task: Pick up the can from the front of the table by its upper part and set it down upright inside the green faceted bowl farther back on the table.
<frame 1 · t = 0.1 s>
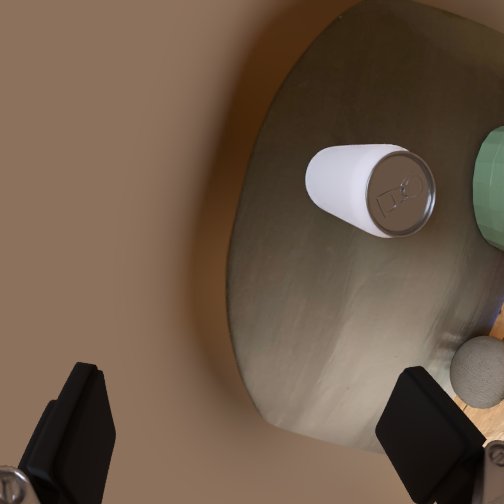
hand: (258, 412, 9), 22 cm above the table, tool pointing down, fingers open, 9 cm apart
fruit: (463, 353, 40), on the table
can: (334, 179, 30), on the table
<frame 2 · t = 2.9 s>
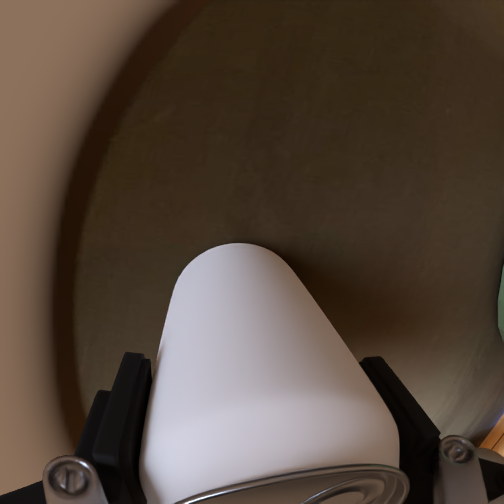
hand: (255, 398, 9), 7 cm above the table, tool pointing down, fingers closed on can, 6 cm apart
can: (236, 300, 16), on the table, touching gripper
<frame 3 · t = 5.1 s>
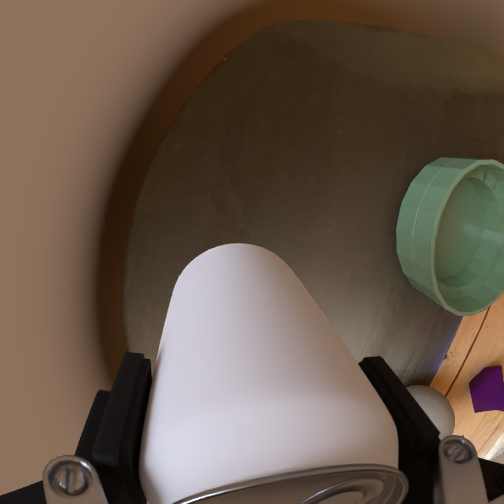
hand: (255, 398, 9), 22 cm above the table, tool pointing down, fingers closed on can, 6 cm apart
fruit: (399, 398, 40), on the table
green faceted bowl: (448, 227, 33), on the table
can: (236, 301, 16), point 15 cm above the table, touching gripper
perfume bottle: (477, 380, 43), on the table
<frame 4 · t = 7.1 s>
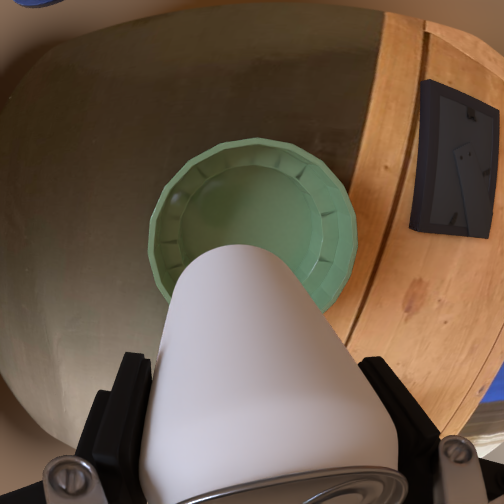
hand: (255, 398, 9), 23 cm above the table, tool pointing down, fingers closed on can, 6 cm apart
green faceted bowl: (247, 229, 32), on the table
can: (236, 302, 16), point 16 cm above the table, touching gripper
picture frame: (455, 162, 33), on the table
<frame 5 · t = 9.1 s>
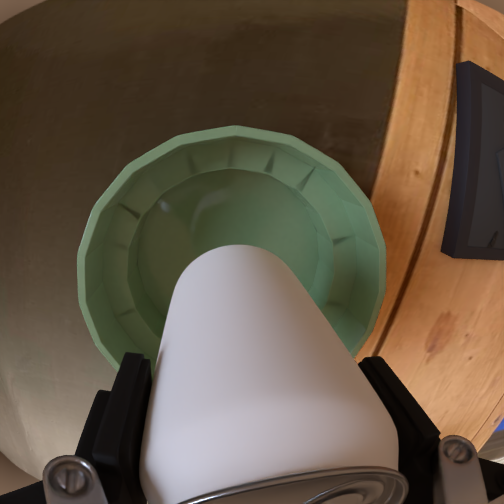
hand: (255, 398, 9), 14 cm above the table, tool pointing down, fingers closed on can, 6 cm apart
green faceted bowl: (228, 258, 23), on the table
can: (236, 302, 16), point 7 cm above the table, touching gripper
picture frame: (495, 168, 24), on the table
when the fingers open (8 cm above the table, at t = 11.2 s): can stays where it is, resting on green faceted bowl.
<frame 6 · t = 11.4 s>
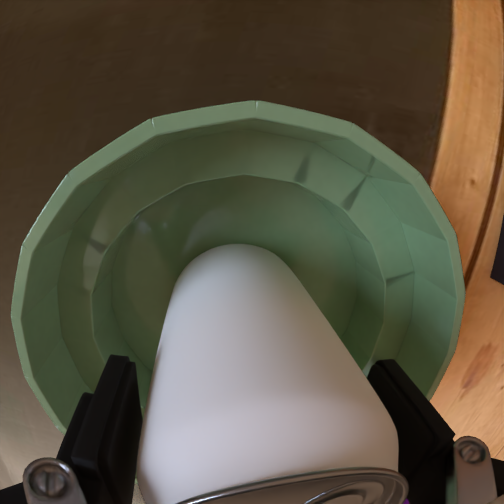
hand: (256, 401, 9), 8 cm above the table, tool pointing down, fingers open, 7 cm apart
green faceted bowl: (236, 298, 17), on the table
can: (235, 301, 16), resting on green faceted bowl
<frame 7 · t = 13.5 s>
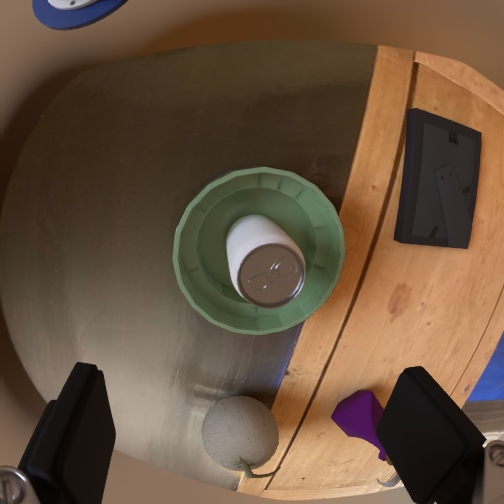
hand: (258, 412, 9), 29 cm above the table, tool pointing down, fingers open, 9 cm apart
fruit: (239, 406, 45), on the table
green faceted bowl: (253, 240, 37), on the table
can: (253, 240, 37), resting on green faceted bowl
picture frame: (438, 181, 38), on the table
perfume bottle: (352, 402, 47), on the table
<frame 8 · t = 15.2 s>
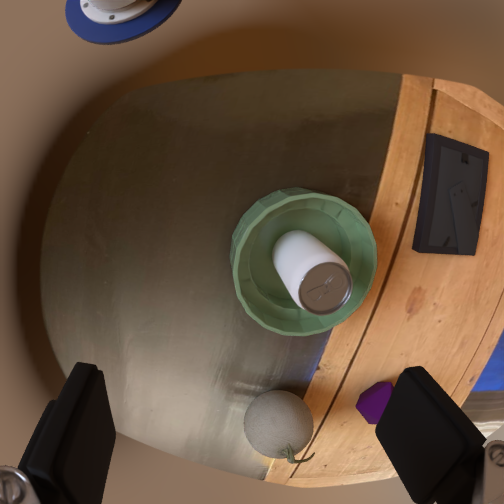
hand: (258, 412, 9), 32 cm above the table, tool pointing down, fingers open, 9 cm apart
fruit: (274, 400, 49), on the table
green faceted bowl: (294, 252, 42), on the table
can: (295, 253, 42), resting on green faceted bowl
picture frame: (450, 196, 43), on the table
perfume bottle: (372, 392, 52), on the table
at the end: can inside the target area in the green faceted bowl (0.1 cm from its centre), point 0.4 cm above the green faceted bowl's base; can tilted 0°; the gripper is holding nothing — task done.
